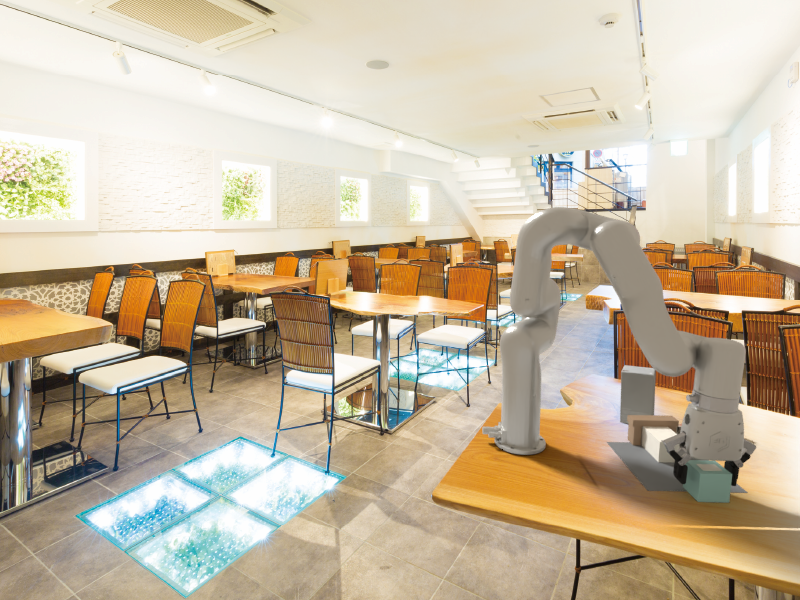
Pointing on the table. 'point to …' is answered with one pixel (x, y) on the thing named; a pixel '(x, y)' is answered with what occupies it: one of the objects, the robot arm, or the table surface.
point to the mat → (652, 468)
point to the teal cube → (708, 481)
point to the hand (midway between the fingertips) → (704, 481)
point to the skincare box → (637, 391)
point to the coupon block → (653, 434)
